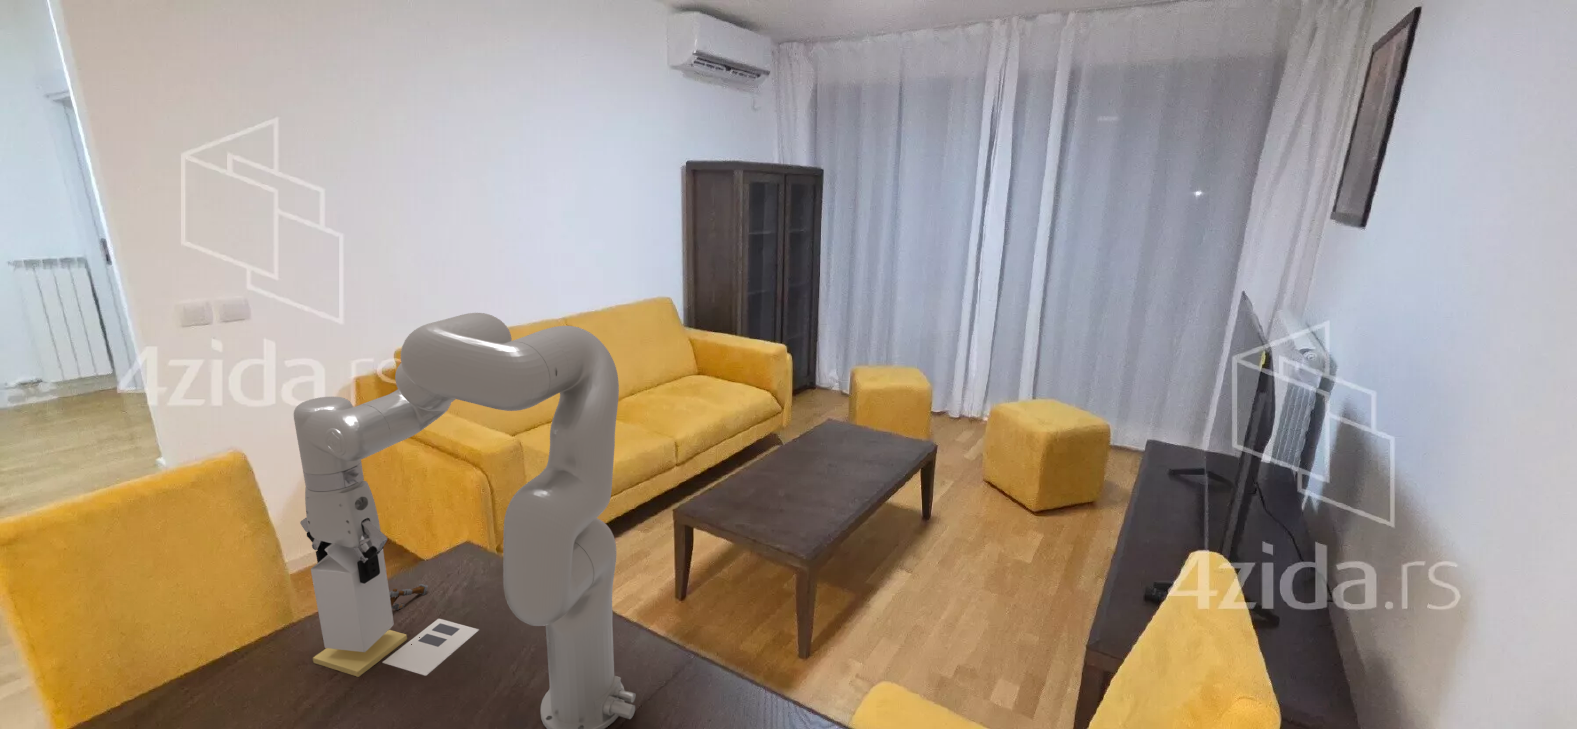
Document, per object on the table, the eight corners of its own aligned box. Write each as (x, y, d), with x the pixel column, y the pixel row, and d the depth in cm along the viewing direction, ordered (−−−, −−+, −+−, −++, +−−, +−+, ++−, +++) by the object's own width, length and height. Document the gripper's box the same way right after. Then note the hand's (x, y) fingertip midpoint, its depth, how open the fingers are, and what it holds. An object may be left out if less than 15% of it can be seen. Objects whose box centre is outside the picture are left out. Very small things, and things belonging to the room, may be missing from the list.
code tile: (479, 630, 117) (479, 629, 117) (426, 677, 106) (425, 675, 106) (438, 619, 120) (438, 618, 120) (382, 663, 109) (382, 662, 109)
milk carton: (394, 625, 113) (380, 527, 108) (364, 653, 106) (348, 550, 101) (356, 621, 114) (340, 524, 109) (324, 649, 107) (305, 546, 102)
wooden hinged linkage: (379, 614, 119) (385, 588, 120) (415, 606, 127) (421, 582, 127) (386, 616, 118) (392, 591, 119) (422, 608, 126) (428, 584, 127)
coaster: (407, 639, 114) (406, 634, 114) (358, 676, 105) (357, 671, 105) (364, 627, 117) (363, 622, 116) (313, 662, 108) (312, 657, 108)
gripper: (398, 475, 103) (411, 571, 108) (314, 457, 108) (330, 551, 113) (356, 495, 96) (371, 598, 101) (268, 476, 101) (287, 575, 106)
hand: (349, 572), depth 107 cm, fingers closed on milk carton, 8 cm apart
